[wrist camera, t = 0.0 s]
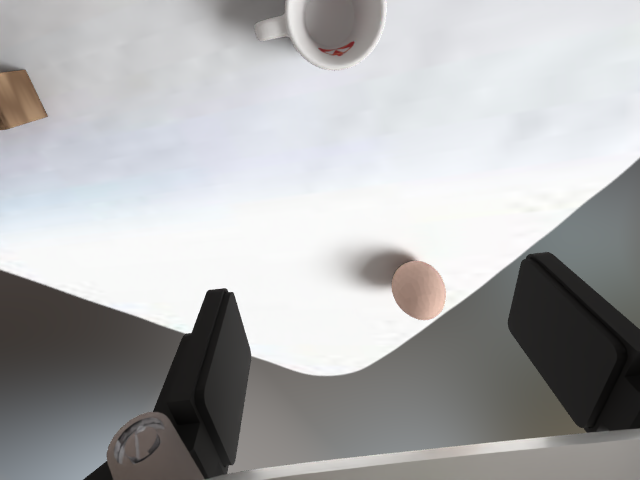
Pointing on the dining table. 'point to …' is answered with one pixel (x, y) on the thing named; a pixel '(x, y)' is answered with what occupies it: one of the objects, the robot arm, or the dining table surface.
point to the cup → (328, 30)
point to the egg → (419, 290)
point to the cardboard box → (18, 100)
